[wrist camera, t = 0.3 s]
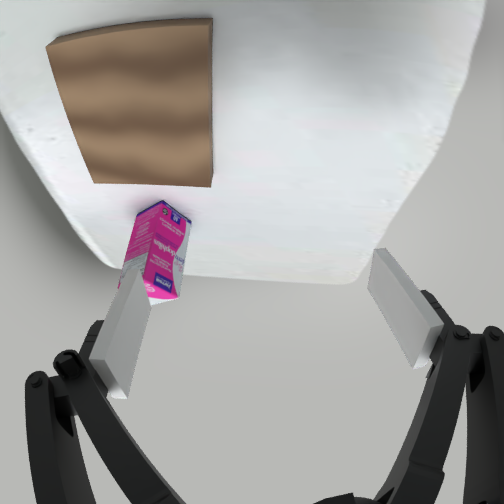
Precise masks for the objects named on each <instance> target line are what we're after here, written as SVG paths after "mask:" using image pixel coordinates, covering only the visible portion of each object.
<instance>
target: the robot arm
mask: <svg viewBox="0 0 504 504" xmlns="http://www.w3.org/2000/svg"><path fill="white" fill-rule="evenodd" d="M368 290H369V292H370V293H371V295H372V297H373V299H374V300H375V302H376V303H377V305H378V307H379V309H380V311H381V312H382V314H383V316H384V317H385V319H386V321H387V323H388V325H389V326H390V328H391V330H392V332H393V334H394V335H395V337H396V339H397V341H398V343H399V345H400V346H401V348H402V350H403V352H404V354H405V356H406V358H407V360H408V361H409V363H410V365H411V367H412V369H416V368H420V367H423V366H426V364H427V362H428V360H429V358H430V359H431V361H432V362H433V364H432V366H431V368H430V370H429V372H428V374H427V376H426V378H427V381H426V385H425V387H424V391H423V394H422V396H421V399H420V403H419V405H418V408H417V411H416V413H415V416H414V419H413V421H412V424H411V427H410V429H409V431H408V434H407V436H406V439H405V441H404V443H403V446H402V448H401V450H400V453H399V455H398V457H397V459H396V461H395V463H394V466H393V467H392V470H391V472H390V474H389V476H388V478H387V480H386V482H385V483H384V485H383V486H382V488H381V489H380V491H379V492H378V493H377V495H376V497H375V498H374V500H372V499H367V498H362V497H354V496H353V493H348V494H344V495H340V496H335V497H330V498H326V499H323V500H321V501H318V502H316V503H314V504H434V503H435V500H436V498H437V495H438V493H439V491H440V488H441V485H442V483H443V480H444V475H445V473H444V472H443V471H442V469H443V465H444V462H445V460H446V457H447V453H448V450H449V447H450V444H451V440H452V437H453V434H454V430H455V426H456V423H457V419H458V415H459V411H460V406H461V401H462V396H463V392H464V387H465V383H466V399H467V460H466V477H465V487H464V496H463V504H504V333H503V332H502V330H500V329H499V328H497V327H495V326H488V327H486V329H485V330H484V332H483V334H471V333H470V331H469V330H468V329H467V328H465V327H463V326H461V325H455V324H454V322H453V321H452V319H451V318H450V317H449V316H448V314H447V313H446V312H445V310H444V309H443V308H442V306H441V305H440V304H439V303H438V301H437V300H436V298H435V297H434V296H433V295H432V294H431V293H429V292H428V291H426V290H421V291H420V290H419V289H418V288H417V287H416V285H415V284H414V283H413V281H412V280H411V279H410V278H409V276H408V275H407V274H406V273H405V271H404V270H403V269H402V267H401V266H400V265H399V264H398V263H397V261H396V260H395V259H394V258H393V257H392V255H391V254H390V253H389V252H388V250H387V249H386V248H380V249H374V252H373V259H372V265H371V271H370V277H369V283H368ZM150 311H151V305H150V301H149V298H148V295H147V292H146V288H145V285H144V281H143V278H142V275H141V271H140V269H132V270H127V272H126V274H125V276H124V278H123V280H122V282H121V284H120V287H119V289H118V291H117V293H116V295H115V297H114V300H113V302H112V304H111V306H110V309H109V311H108V313H107V315H106V318H105V320H97V321H96V322H95V323H94V324H93V325H92V326H91V327H90V329H89V331H88V333H87V336H86V338H85V340H84V343H83V345H82V347H81V349H80V352H79V354H78V353H77V352H76V351H75V350H65V351H62V352H61V353H59V354H58V355H57V356H56V357H55V359H54V362H53V367H54V369H55V370H56V371H57V373H58V374H59V375H58V376H53V377H48V376H47V374H45V372H43V371H36V372H34V373H32V374H31V375H29V377H28V378H27V380H26V383H25V413H26V431H27V443H28V453H29V461H30V469H31V475H32V481H33V487H34V492H35V497H36V502H37V504H96V501H95V498H94V495H93V492H92V489H91V486H90V482H89V479H88V475H87V471H86V468H85V464H84V460H83V456H82V452H81V448H80V443H79V439H78V435H77V429H76V424H75V418H74V416H75V415H78V416H79V418H80V420H81V422H82V424H83V426H84V427H85V429H86V432H87V433H88V435H89V437H90V439H91V441H92V443H93V444H94V446H95V448H96V450H97V451H98V453H99V455H100V456H101V458H102V460H103V461H104V463H105V465H106V466H107V468H108V470H109V471H110V473H111V474H112V476H113V477H114V479H115V481H116V482H117V484H118V485H119V486H120V488H121V489H122V491H123V492H124V494H125V495H126V497H127V498H128V499H129V501H130V502H131V503H132V504H186V503H185V502H184V501H183V500H182V499H181V498H180V496H179V495H178V494H177V493H176V492H175V491H174V490H173V488H171V486H170V485H169V484H168V483H167V481H166V480H165V479H164V478H163V477H162V476H161V474H160V473H159V472H158V471H157V470H156V468H155V467H154V466H153V464H152V463H151V462H150V460H149V459H148V458H147V457H146V455H145V454H144V453H143V451H142V450H141V449H140V447H139V446H138V444H137V443H136V442H135V440H134V439H133V437H132V436H131V435H130V433H129V432H128V430H127V429H126V427H125V426H124V425H123V423H122V421H121V420H120V419H119V417H118V416H117V414H116V412H115V411H114V409H113V408H112V406H111V405H110V403H109V401H108V400H107V398H106V397H107V393H108V391H109V393H110V394H111V396H112V397H113V398H122V399H127V398H128V394H129V391H130V386H131V382H132V378H133V374H134V370H135V366H136V362H137V358H138V354H139V350H140V346H141V343H142V339H143V335H144V332H145V328H146V324H147V321H148V318H149V314H150Z"/></svg>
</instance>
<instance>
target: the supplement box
mask: <svg viewBox="0 0 504 504" xmlns="http://www.w3.org/2000/svg"><path fill="white" fill-rule="evenodd" d="M190 228H191V221H189V220H188V219H186V218H185V217H183V216H182V215H181V214H179V213H178V212H177V211H175V210H174V209H173V208H171V207H170V206H169V205H168V204H167V203H165V202H164V201H161V202H159V203H157V204H155V205H154V206H152V207H150V208H148V209H146V210H144V211H143V212H141V213H139V214H137V216H136V220H135V223H134V227H133V230H132V234H131V237H130V241H129V245H128V248H127V252H126V256H125V260H124V264H123V268H122V273H121V276H120V281H119V285H118V289H119V287H120V284H121V282H122V280H123V278H124V276H125V274H126V272H127V270H132V269H140V271H141V275H142V278H143V281H144V285H145V288H146V292H147V295H148V298H149V301H150V305H154V304H158V303H162V302H165V301H170V300H175V299H178V298H179V297H180V289H181V282H182V276H183V270H184V263H185V257H186V251H187V245H188V239H189V234H190Z"/></svg>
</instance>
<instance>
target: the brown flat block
mask: <svg viewBox="0 0 504 504" xmlns="http://www.w3.org/2000/svg"><path fill="white" fill-rule="evenodd" d="M212 25H213V18H193V19H169V20H156V21H145V22H136V23H128V24H121V25H114V26H108V27H102V28H97V29H92V30H87V31H82V32H78V33H73V34H69V35H65V36H61V37H58V38H56V39H55V40H53V41H52V42H51V43H50V44H48V45H47V46H46V51H47V54H48V58H49V62H50V65H51V68H52V72H53V75H54V78H55V82H56V85H57V88H58V91H59V94H60V97H61V100H62V103H63V106H64V109H65V112H66V115H67V117H68V120H69V123H70V126H71V128H72V131H73V134H74V136H75V139H76V141H77V144H78V146H79V149H80V151H81V154H82V156H83V159H84V161H85V164H86V166H87V168H88V171H89V173H90V175H91V178H92V180H93V182H94V183H105V184H149V185H174V186H193V187H210V188H211V183H212V177H213V154H212Z"/></svg>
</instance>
